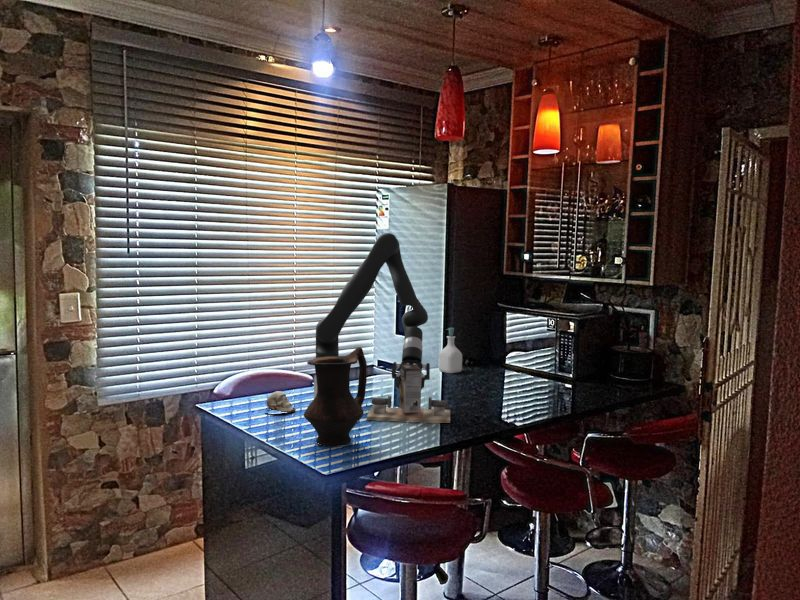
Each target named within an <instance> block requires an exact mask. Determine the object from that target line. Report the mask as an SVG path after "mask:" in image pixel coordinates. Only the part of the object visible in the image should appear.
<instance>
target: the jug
mask: <svg viewBox="0 0 800 600" xmlns="http://www.w3.org/2000/svg"><path fill="white" fill-rule="evenodd" d="M306 362H307V365H310V366H314V371H315V376H316V380H317V395H316V397H315V399H314V398H313V400H312V401H311V402H310V403H309V405H308V406H307V407H306V409H305V411H304V412H303V417H304V418H305V419H306V421H307V422H308V423H309V424H311V426H312V428H314V431H316V433H317V438H316V440H315V443H316V442H317V443H319V444H321V445H320V446H322V445H325V446H324V447H328V446H331V447H334V446H335V447H342V446H343V445H345V446H346V445H349V444H350V443H351V442H352V438H351V436H350V434H351V433H350V432H352V430H353V428H354V427H355V426H356V425H357V424H358V422H359V421H360V420H361V419H362V417H363V415H364V410H363V403H364V401H365V398H366V389H367V380H368V379H367V377H368V371H367V368H368V365H367V363H368V362H367V360H366V357H365V354H364V350H363V348H362V347H361V346H358V347H356V348H355V349H354V350H353V351H351V352H350V353H349V354H347V355H339V356H335V357H319V358H316V357H314V358H313V359H308V360H307V361H306ZM357 363H358V367H359V368H358V370H359V372H358V373H359V374H358V384H357V391H356V395H355V397H354V396H353V394H352V393H351V390H350V385H351V382H350V381H351V379H350V372H351V366H352V365H355V364H357ZM317 443H316V444H317ZM319 444H318V445H319Z"/></svg>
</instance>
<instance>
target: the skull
mask: <svg viewBox="0 0 800 600" xmlns="http://www.w3.org/2000/svg"><path fill="white" fill-rule="evenodd" d="M266 405H267V408H268V409H269V410H270V409H271V410H277V411H281V412H288V413H287V414H289V413H293V412H295V411H297V408H295V407H293V406H292V403H291V402H290V401H289V398H287V394H286V393H284V392H283V391H279V390H277V391H274V392H272V393H271V394H270V395H269V396H268V397H267V399H266Z"/></svg>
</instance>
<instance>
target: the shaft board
mask: <svg viewBox="0 0 800 600" xmlns="http://www.w3.org/2000/svg"><path fill="white" fill-rule="evenodd" d="M448 402H449V400H443V399H442V400H440V399H438V400H437V399H436V400H435V399H433V398H432V396H430V397H428V406H427V407H428V408H421V411H420V412H410V413H404V411H403V410H402V409H401V408H400V407H392V395H387V398H386V397H371V405H373V406H371V407H370V409H369V412H367V415H366V421H367V420H376V422H390V421H409V422H408V423H414V422H426V423H425V424H438V423H450V424H451V409H446V408H448V405H449V403H448ZM432 407H433V408H432Z"/></svg>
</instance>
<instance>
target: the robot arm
mask: <svg viewBox="0 0 800 600" xmlns="http://www.w3.org/2000/svg"><path fill="white" fill-rule="evenodd" d="M400 246H401V245H400V242H399V239H398V238H397V237H396V235H394V234H393V233H390V232H384V233H382V234H380V235H379V236H378V237H377V239H376V241H375V242H374V244H373V246H372V247H371V249H370V251H369V253H368V255H366V257H365V259H364V260H363V261H362V262H361V264H360V265H359V267H358V268H357V269H356V270H355V272H353V274H352V275H351V277H350V278H349V280H348V281H347V282H346V284H345V285H344V287H343V289H342V290H341V292H340V294H339V296H338V298H337V300H336V302H335V304H334V306H333V308H332V309H331V310H330V312H328V314H327V315H326V316H325V317H324V318H323V319H321V320H319V321H318V322H317V324H316V326H315V358H319V357H335V356H340V355H339V350H340V349H339V335H340V333H341V331H342V329H343V328H344V326H345V324H346V323H347V321H348V319H349V318H350V316H352V314H353V313H354V312H355V310H356V309H357V308H358V307H359V305H360V304H362V302H363V300H364V299H365V298H366V297H367V295H368V294H369V292H370V291H371V289H372V288H373V285H374V284H375V282H376V279H377V277H378V275H379V273H380V271H381V269H382V267H383V266H384V265H385V264H386V267H387V268H388V270H389V273H390V276H391V279H392V283H393V287H394V291H395V293H396V296H397V299H398V301H399V304H400V305H401V306H402V307H407V306H410V307H411V310H409V311H407V312H405V313H403V315H402V317H401V323H402V326H403V332H404V338H403V339H404V340H403V345H402V352H401V353H402V355H401V362H400V363H397V362H396V361H393V363H392V368H391V379H395V388H397V389H399V387H400V371H398V373H397V370H398V369H400V364H413V365H417V366H418V367H420V368H421V369H423V370H424V371H426V374H424V373H423V372H422V380H421V390H423V389H425V381H430V371H431V369H430V365H431V364H430V363H428V362H427V363H425V364H423V362H422V361H423V337H424V335H423V334H424V333H423V330H422V329H421V327H420V326H422V325H424V324H426V323H427V322H428V320H429V315H428V312H427V310H426V308H425V307H424V306H423V304H422V303H421V302H420V299H418V297H417V295H416V292H415V290H414V287H413V285H412V282H411V280H410V278H409V275H408V273H407V271H406V268H405V265H404V262H403V258H402V254H401V253H402V252H401V248H400ZM316 395H317V380H316V375H313V400H314V399H315V397H316Z"/></svg>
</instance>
